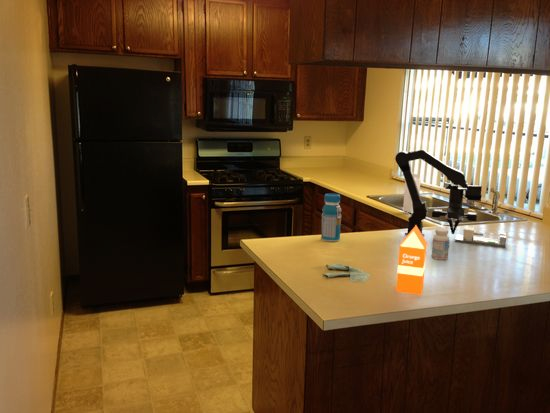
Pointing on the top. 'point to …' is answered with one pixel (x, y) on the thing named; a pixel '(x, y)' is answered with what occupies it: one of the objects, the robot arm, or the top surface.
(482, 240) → the gauge base
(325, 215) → the beverage bottle
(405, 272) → the orange juice
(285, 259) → the top surface
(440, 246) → the pill bottle
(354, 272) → the cloth
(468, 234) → the white square block
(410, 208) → the milk
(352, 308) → the top surface
